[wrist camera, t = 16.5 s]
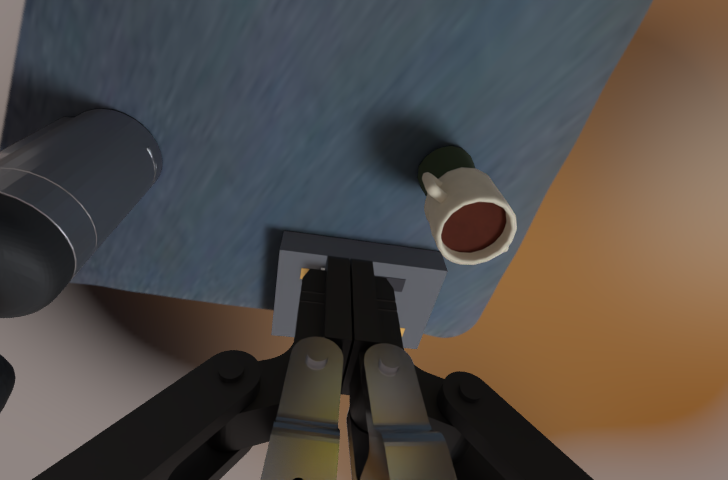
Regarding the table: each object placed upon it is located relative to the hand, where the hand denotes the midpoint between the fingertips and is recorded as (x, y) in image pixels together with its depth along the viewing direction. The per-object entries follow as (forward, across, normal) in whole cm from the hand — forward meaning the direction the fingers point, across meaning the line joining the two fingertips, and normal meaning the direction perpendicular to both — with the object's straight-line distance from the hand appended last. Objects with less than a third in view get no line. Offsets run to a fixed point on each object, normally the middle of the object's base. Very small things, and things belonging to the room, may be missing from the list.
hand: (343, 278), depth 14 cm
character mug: (+31, -13, +8) cm, 35 cm away
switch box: (+31, -6, +26) cm, 41 cm away
